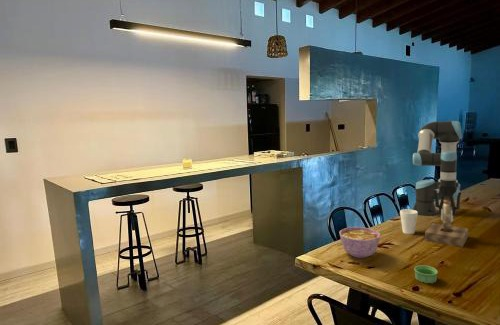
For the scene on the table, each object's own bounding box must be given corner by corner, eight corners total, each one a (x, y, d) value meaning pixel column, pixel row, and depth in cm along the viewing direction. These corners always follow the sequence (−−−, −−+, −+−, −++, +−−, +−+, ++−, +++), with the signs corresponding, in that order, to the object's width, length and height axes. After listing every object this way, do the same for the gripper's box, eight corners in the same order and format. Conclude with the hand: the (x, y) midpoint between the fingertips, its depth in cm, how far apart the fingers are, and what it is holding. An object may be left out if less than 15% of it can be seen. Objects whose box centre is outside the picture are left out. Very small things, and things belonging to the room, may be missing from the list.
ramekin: (429, 273, 147) (430, 264, 147) (442, 283, 138) (442, 273, 138) (410, 275, 147) (410, 265, 146) (421, 285, 138) (421, 275, 138)
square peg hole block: (424, 240, 185) (425, 231, 184) (432, 231, 198) (432, 223, 198) (462, 247, 173) (462, 238, 173) (467, 237, 187) (468, 228, 186)
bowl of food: (332, 251, 177) (331, 230, 175) (362, 244, 184) (362, 224, 182) (356, 266, 158) (356, 243, 157) (389, 258, 165) (389, 236, 163)
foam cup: (399, 233, 197) (399, 212, 195) (400, 229, 205) (400, 208, 203) (417, 235, 193) (417, 214, 191) (417, 230, 201) (417, 210, 199)
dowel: (441, 227, 185) (442, 200, 183) (443, 225, 188) (444, 198, 186) (450, 229, 182) (451, 200, 180) (451, 227, 185) (452, 199, 183)
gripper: (429, 179, 184) (428, 219, 187) (465, 181, 173) (463, 224, 176) (432, 177, 190) (431, 216, 193) (467, 179, 179) (466, 221, 182)
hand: (446, 220), depth 184 cm, fingers closed on dowel, 4 cm apart
